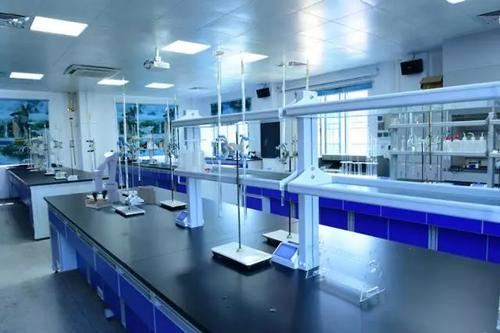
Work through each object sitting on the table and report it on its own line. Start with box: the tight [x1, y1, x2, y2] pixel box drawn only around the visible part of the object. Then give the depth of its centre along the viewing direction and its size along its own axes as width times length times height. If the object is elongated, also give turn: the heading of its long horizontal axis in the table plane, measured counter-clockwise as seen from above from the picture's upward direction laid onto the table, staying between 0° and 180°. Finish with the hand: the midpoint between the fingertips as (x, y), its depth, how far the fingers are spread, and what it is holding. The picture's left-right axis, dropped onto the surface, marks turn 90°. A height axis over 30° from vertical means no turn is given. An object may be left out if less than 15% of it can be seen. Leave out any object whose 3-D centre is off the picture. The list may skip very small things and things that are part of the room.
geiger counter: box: [134, 185, 157, 205], centre depth 298 cm, size 14×6×25 cm
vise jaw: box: [84, 197, 96, 204], centre depth 293 cm, size 12×9×3 cm
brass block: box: [96, 197, 105, 202], centre depth 287 cm, size 4×5×5 cm
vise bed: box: [85, 199, 114, 209], centre depth 288 cm, size 14×16×5 cm
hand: (100, 200), depth 287 cm, fingers open, 7 cm apart
